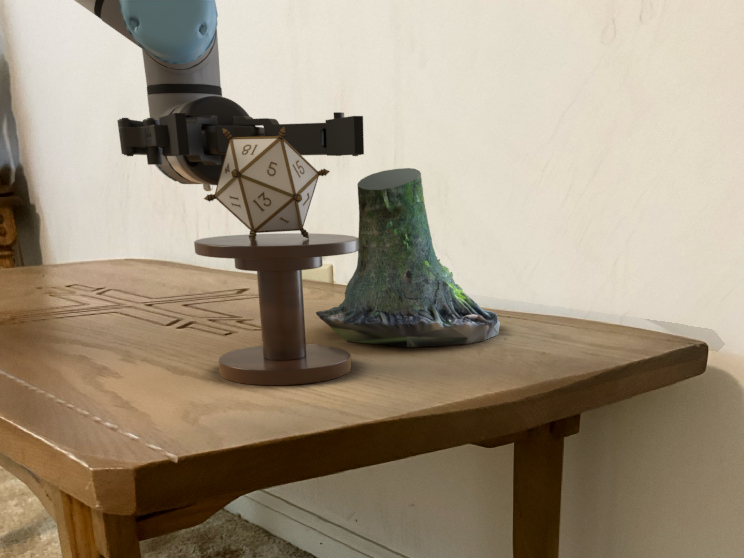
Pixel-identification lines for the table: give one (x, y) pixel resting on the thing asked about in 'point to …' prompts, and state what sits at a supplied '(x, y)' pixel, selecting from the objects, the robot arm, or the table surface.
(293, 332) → the pedestal stand
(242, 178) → the game die
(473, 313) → the tree stump
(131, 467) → the table surface
